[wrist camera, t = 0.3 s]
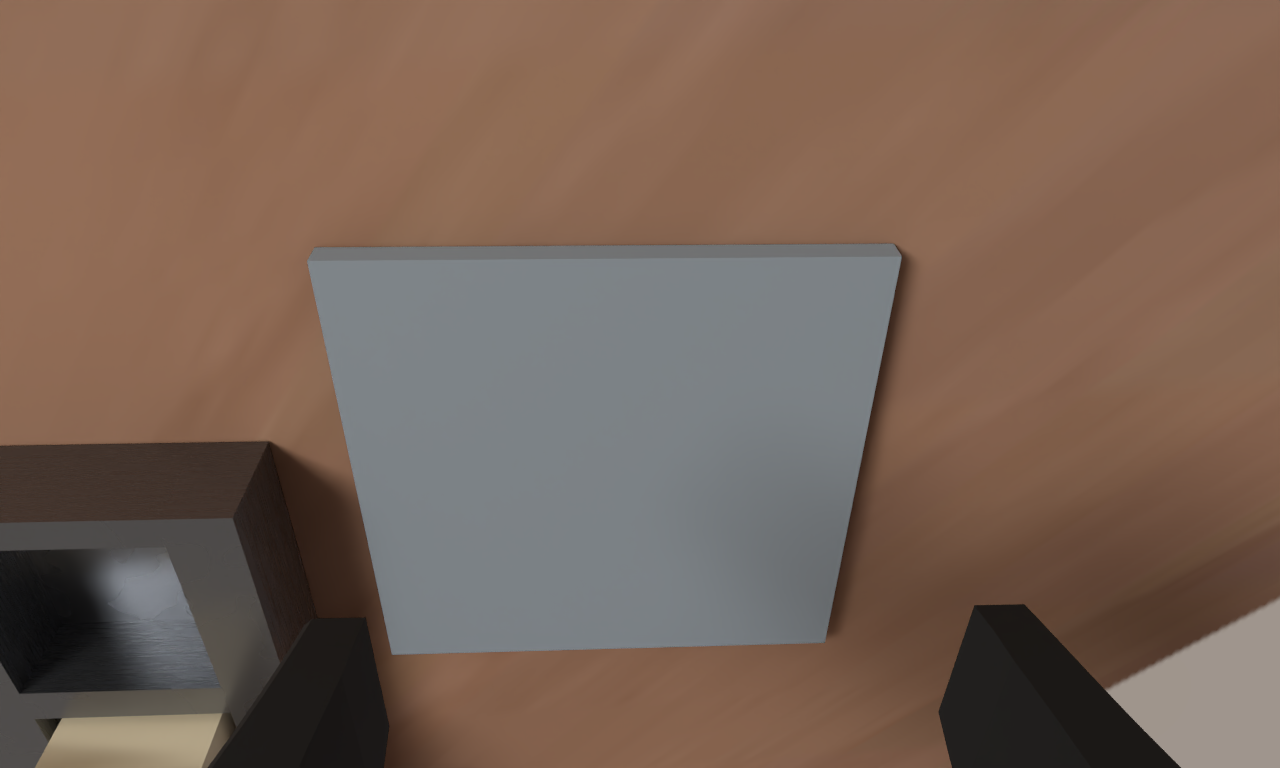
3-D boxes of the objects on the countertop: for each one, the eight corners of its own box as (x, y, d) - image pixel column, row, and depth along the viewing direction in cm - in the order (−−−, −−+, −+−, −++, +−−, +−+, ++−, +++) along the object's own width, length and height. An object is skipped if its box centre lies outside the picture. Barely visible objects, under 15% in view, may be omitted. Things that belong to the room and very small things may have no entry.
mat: (820, 625, 26) (824, 642, 25) (396, 637, 25) (392, 654, 25) (893, 243, 19) (901, 256, 19) (314, 247, 18) (306, 260, 18)
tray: (381, 848, 31) (366, 927, 29) (145, 857, 31) (113, 938, 29) (268, 441, 21) (232, 518, 19) (-86, 447, 21) (-163, 526, 19)
